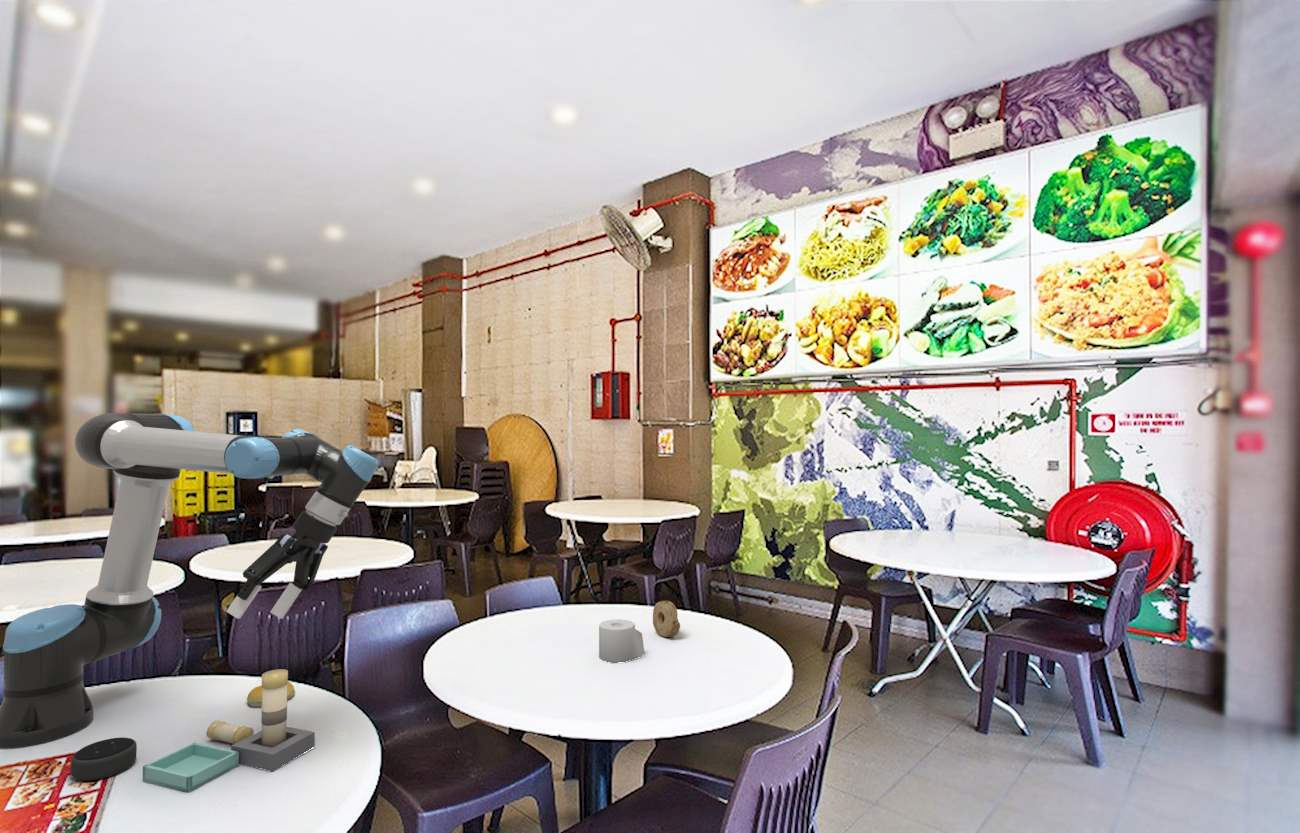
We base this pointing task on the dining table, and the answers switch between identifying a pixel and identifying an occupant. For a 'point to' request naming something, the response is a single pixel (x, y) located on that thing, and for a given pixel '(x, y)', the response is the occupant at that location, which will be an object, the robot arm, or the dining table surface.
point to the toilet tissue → (619, 641)
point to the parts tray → (190, 767)
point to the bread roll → (256, 695)
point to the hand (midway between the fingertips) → (255, 615)
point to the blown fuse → (274, 707)
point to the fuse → (228, 732)
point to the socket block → (274, 749)
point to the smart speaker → (103, 759)
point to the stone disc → (665, 619)
